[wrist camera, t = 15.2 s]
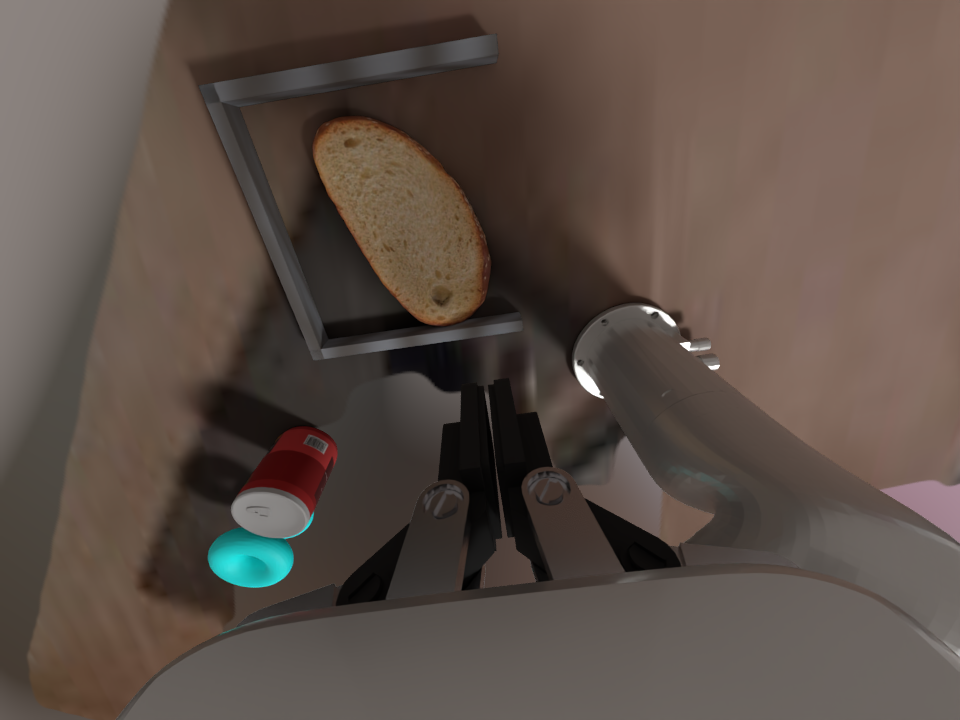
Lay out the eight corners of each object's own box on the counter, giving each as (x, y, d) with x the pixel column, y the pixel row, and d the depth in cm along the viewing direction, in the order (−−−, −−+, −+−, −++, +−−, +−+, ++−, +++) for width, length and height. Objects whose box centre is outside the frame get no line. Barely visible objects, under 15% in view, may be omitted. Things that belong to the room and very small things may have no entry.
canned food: (271, 424, 46) (219, 492, 36) (333, 423, 46) (298, 491, 36) (286, 467, 49) (242, 540, 40) (344, 466, 50) (314, 538, 40)
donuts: (209, 589, 46) (195, 541, 41) (251, 521, 55) (243, 475, 50) (289, 594, 47) (284, 548, 42) (317, 527, 56) (315, 483, 51)
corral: (494, 44, 28) (496, 33, 26) (520, 321, 40) (523, 330, 38) (218, 91, 29) (198, 85, 27) (322, 350, 41) (313, 360, 39)
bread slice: (312, 105, 30) (293, 97, 27) (515, 151, 32) (520, 149, 29) (317, 301, 39) (303, 313, 35) (478, 328, 41) (479, 342, 37)
